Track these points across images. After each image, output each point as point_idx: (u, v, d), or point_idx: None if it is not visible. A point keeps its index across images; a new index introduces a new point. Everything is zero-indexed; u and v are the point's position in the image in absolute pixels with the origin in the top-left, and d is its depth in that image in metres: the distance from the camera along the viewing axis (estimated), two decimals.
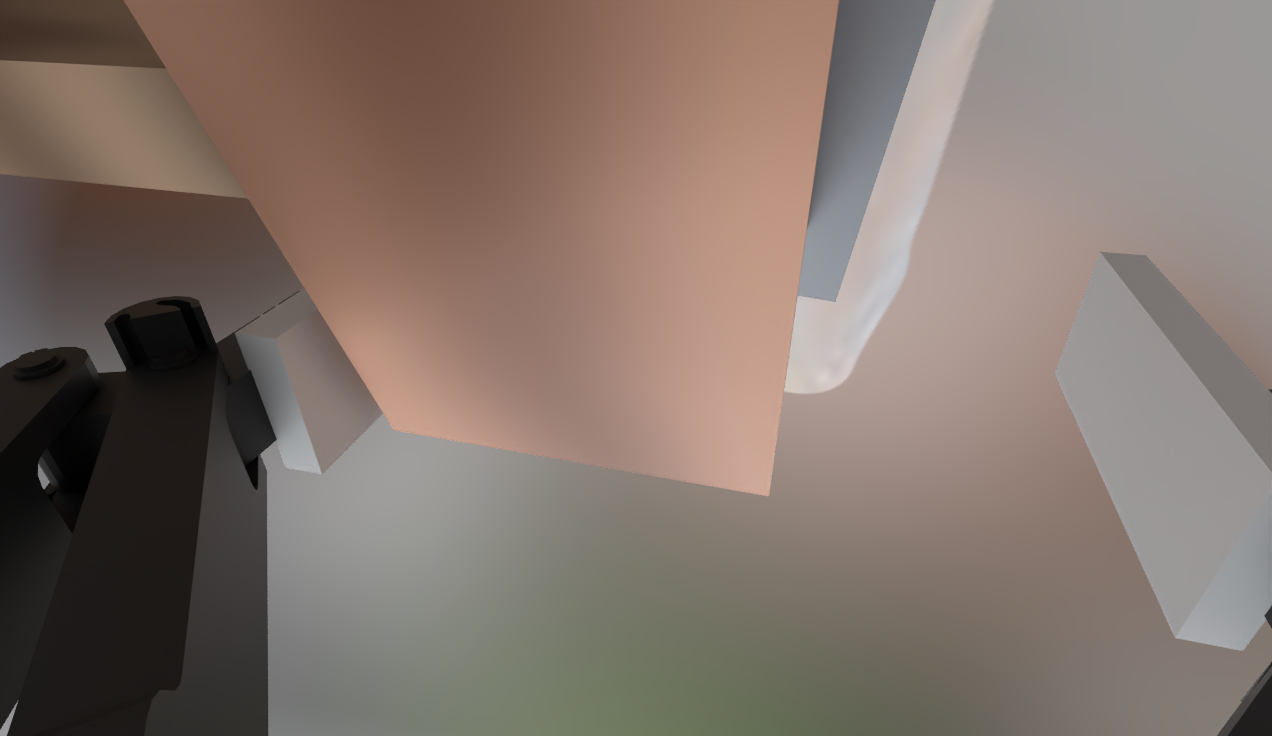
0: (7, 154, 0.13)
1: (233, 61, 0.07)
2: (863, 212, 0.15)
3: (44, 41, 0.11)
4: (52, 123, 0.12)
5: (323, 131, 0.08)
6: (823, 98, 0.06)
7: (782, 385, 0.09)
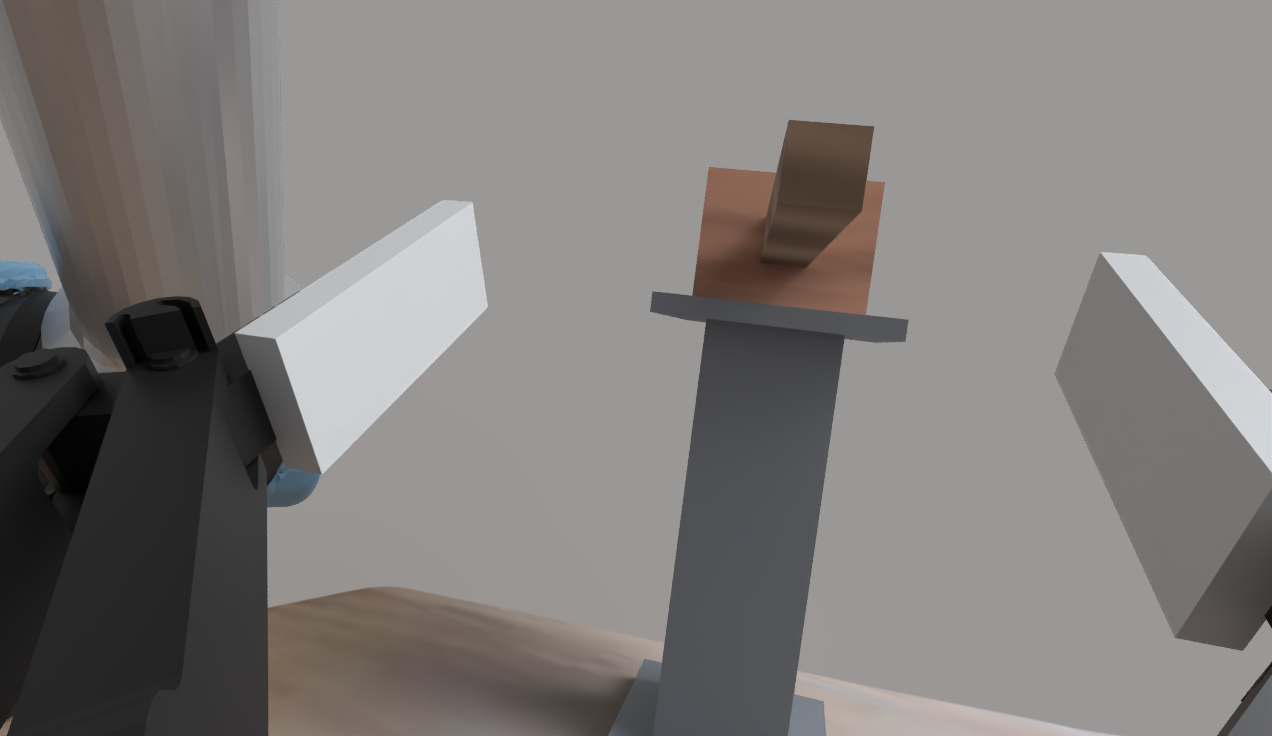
0: None
1: None
2: None
3: (769, 208, 0.30)
4: None
5: None
6: None
7: None
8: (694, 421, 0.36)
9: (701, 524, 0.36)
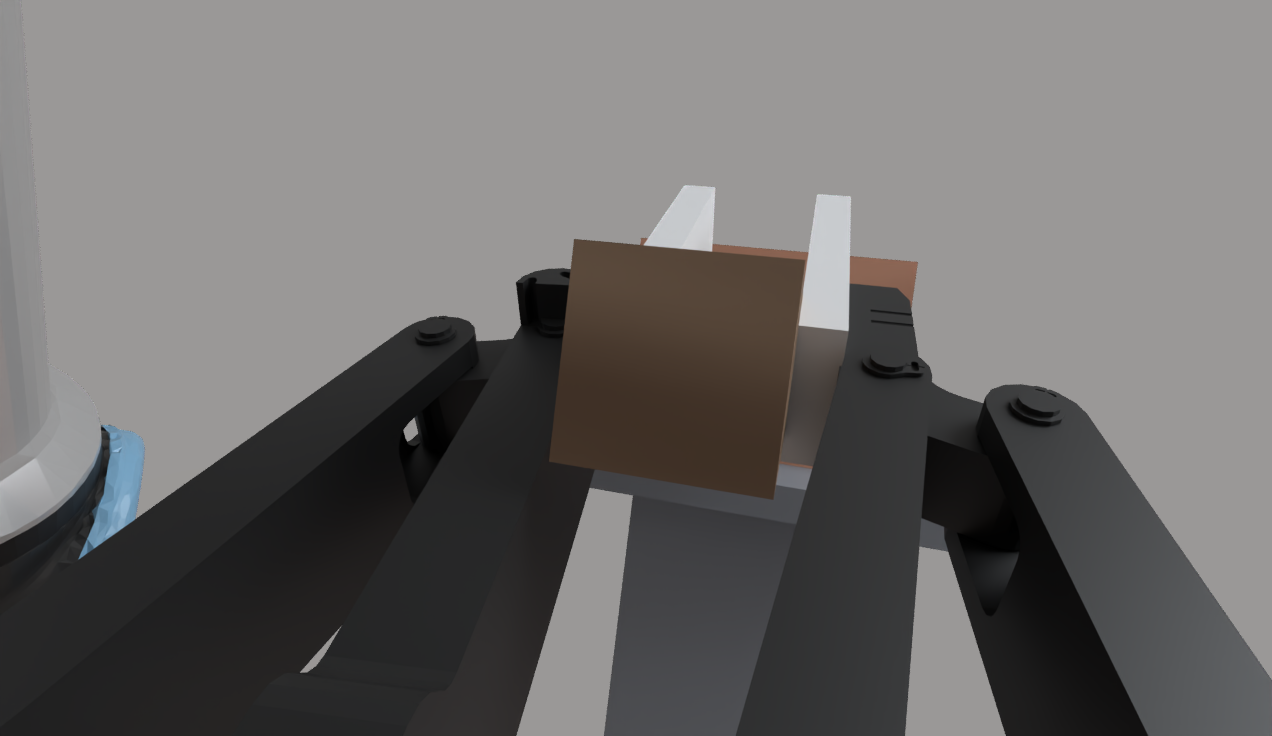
0: None
1: None
2: None
3: None
4: None
5: None
6: None
7: None
8: (617, 635, 0.23)
9: None
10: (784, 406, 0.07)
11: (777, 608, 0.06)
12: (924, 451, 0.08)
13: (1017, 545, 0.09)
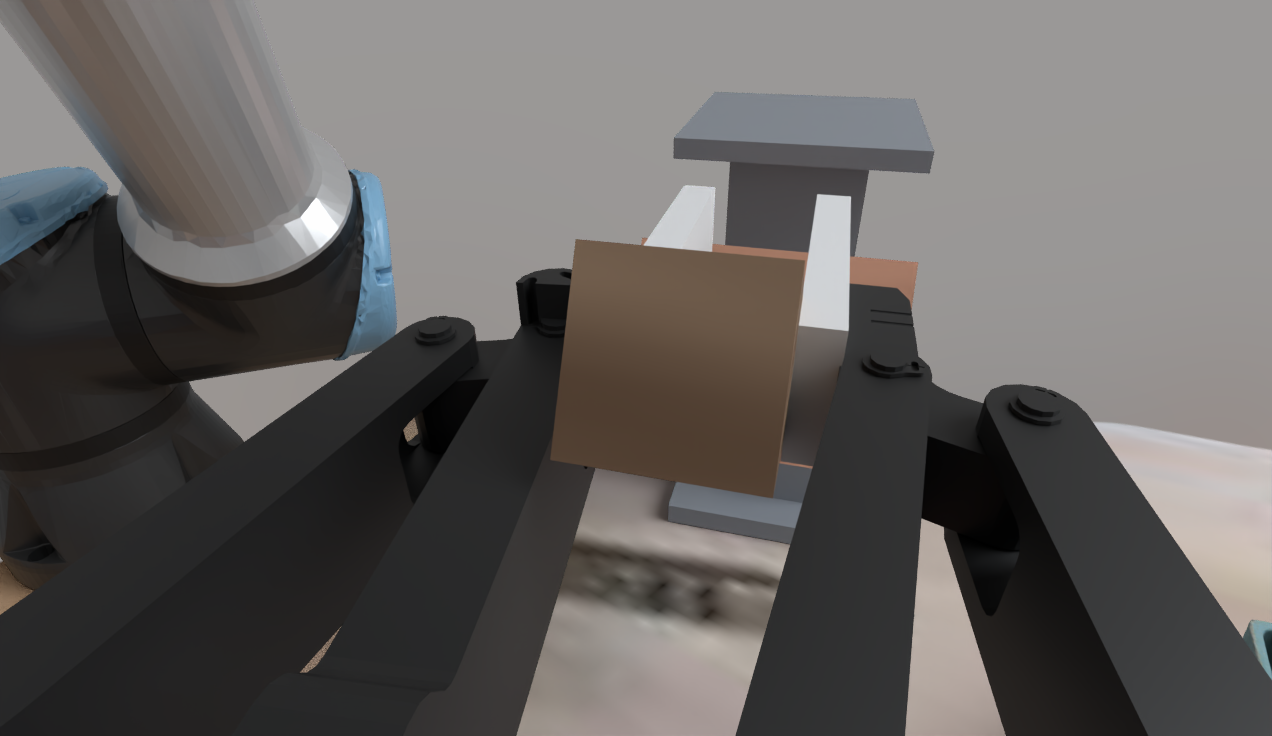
0: None
1: None
2: (866, 97, 0.41)
3: None
4: None
5: None
6: None
7: None
8: None
9: None
10: (783, 405, 0.07)
11: (777, 608, 0.06)
12: (924, 451, 0.08)
13: (1017, 545, 0.09)
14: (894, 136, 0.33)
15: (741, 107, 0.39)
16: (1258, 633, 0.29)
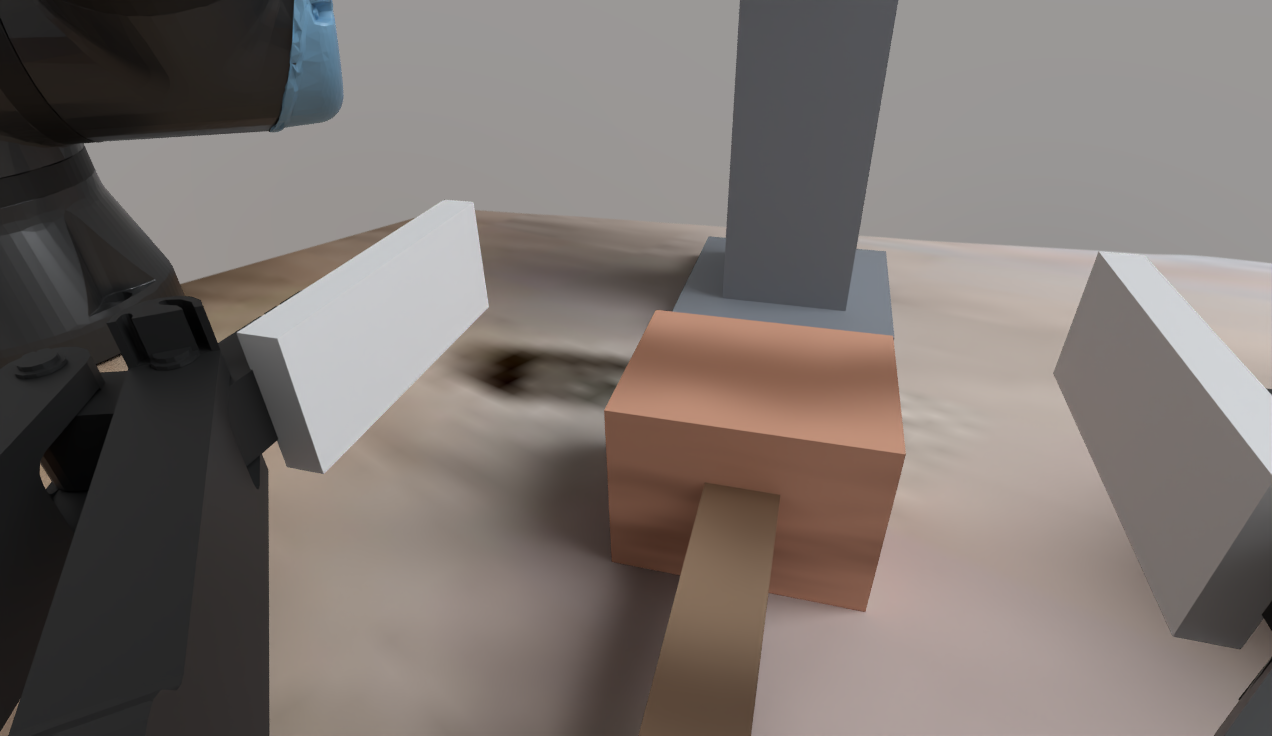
0: (727, 735, 0.15)
1: (669, 401, 0.22)
2: None
3: None
4: (707, 655, 0.17)
5: (697, 393, 0.22)
6: (705, 316, 0.27)
7: (810, 327, 0.26)
8: None
9: (760, 64, 0.33)
10: None
11: None
12: None
13: None
14: None
15: None
16: None
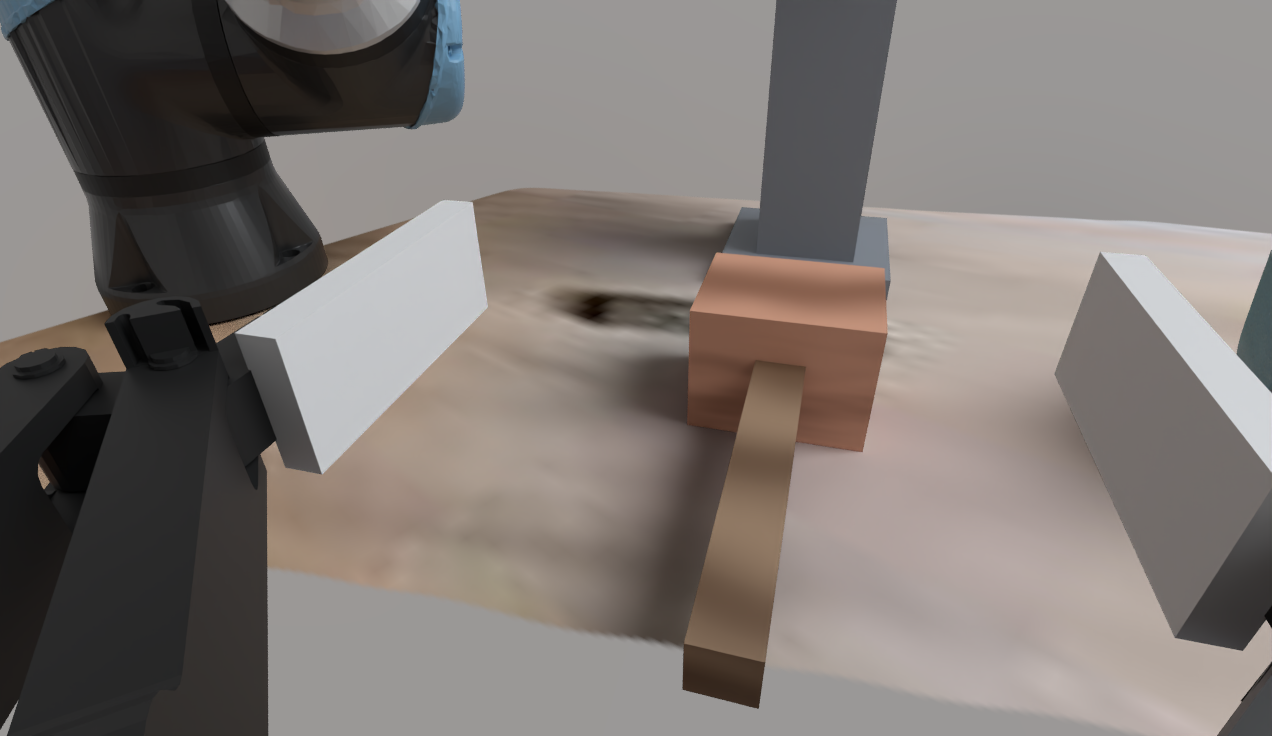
0: (777, 475, 0.26)
1: (732, 306, 0.33)
2: None
3: None
4: (763, 442, 0.28)
5: (750, 301, 0.33)
6: (751, 256, 0.38)
7: (826, 263, 0.37)
8: None
9: (789, 71, 0.44)
10: (760, 692, 0.20)
11: None
12: None
13: None
14: None
15: None
16: None
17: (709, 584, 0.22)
